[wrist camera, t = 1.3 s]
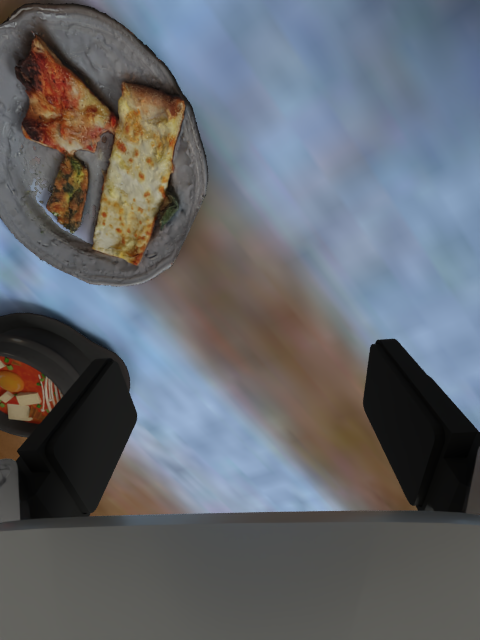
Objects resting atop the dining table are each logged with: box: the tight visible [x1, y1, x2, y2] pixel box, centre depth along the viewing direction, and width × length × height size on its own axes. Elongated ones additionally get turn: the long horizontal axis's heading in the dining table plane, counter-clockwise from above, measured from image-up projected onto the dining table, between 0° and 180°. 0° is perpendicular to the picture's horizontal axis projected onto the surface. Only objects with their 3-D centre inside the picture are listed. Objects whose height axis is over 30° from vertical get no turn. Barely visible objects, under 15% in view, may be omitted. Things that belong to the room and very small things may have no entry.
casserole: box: [0, 313, 130, 438], centre depth 40 cm, size 25×19×8 cm
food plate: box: [0, 3, 208, 287], centre depth 30 cm, size 25×23×4 cm
